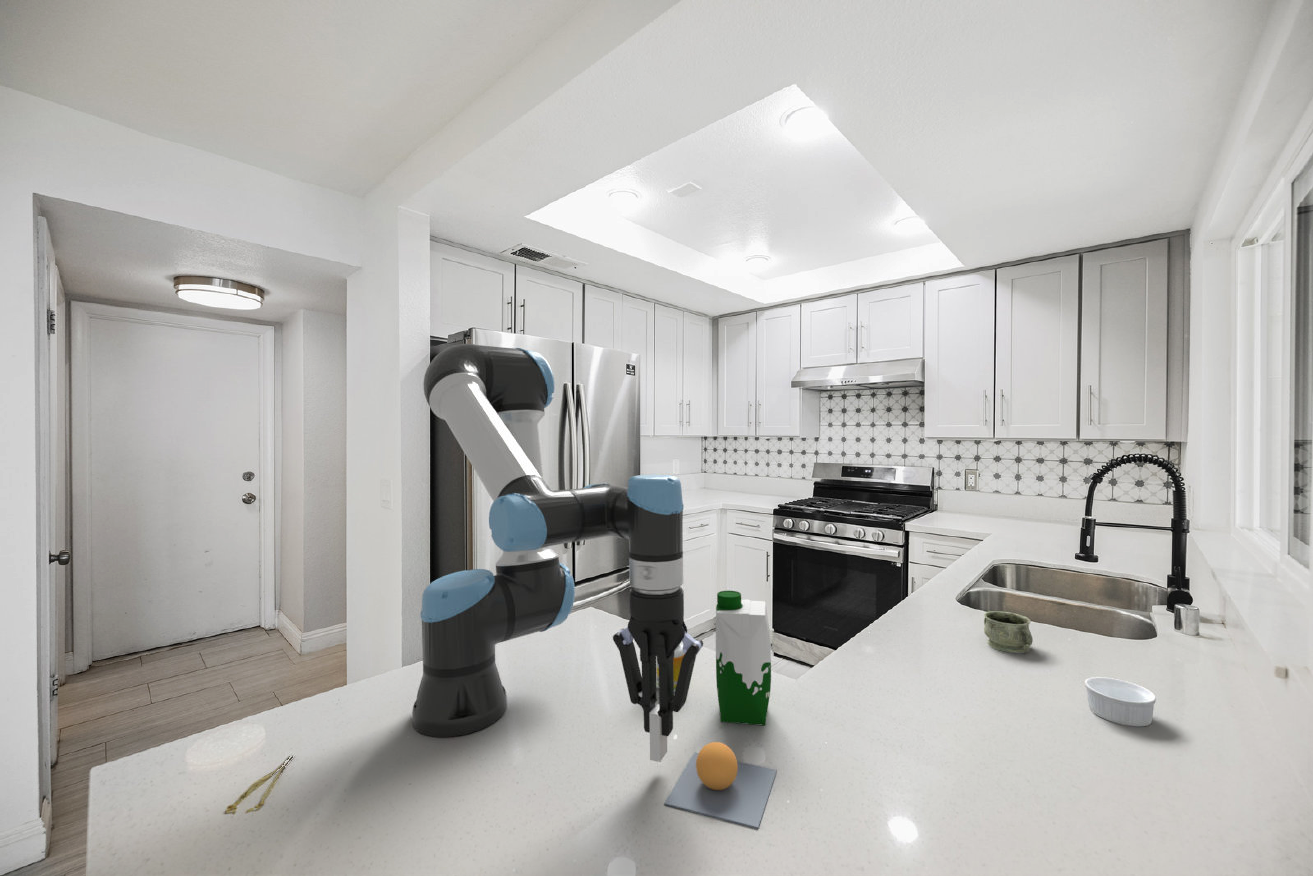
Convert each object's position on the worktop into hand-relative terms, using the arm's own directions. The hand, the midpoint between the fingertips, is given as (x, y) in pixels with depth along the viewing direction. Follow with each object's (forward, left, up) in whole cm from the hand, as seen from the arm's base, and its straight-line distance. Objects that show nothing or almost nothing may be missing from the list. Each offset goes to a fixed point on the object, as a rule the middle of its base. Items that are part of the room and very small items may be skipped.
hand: (658, 755), depth 77 cm
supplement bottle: (-8, +25, -3) cm, 26 cm away
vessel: (+53, +68, -3) cm, 86 cm away
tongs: (-50, -22, -3) cm, 54 cm away
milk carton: (+7, +20, -3) cm, 21 cm away
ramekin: (+64, +41, -3) cm, 76 cm away
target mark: (+9, 0, -2) cm, 9 cm away
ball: (+8, 0, 0) cm, 8 cm away
